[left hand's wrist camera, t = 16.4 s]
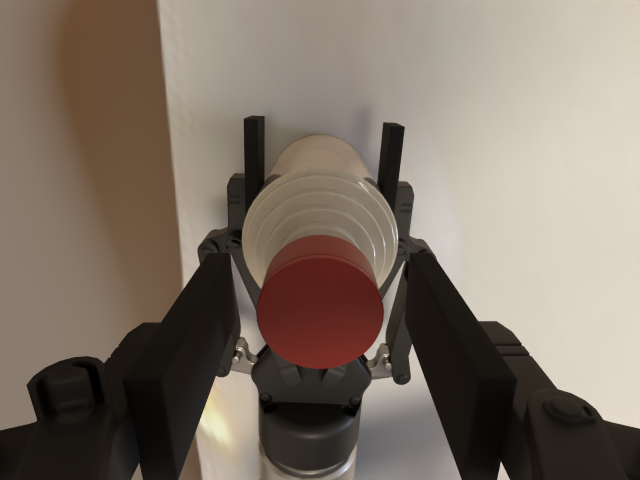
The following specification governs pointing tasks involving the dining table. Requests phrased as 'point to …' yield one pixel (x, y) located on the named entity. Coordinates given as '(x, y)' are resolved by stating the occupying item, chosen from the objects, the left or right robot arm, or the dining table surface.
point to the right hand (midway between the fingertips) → (324, 121)
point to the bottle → (320, 206)
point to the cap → (320, 303)
